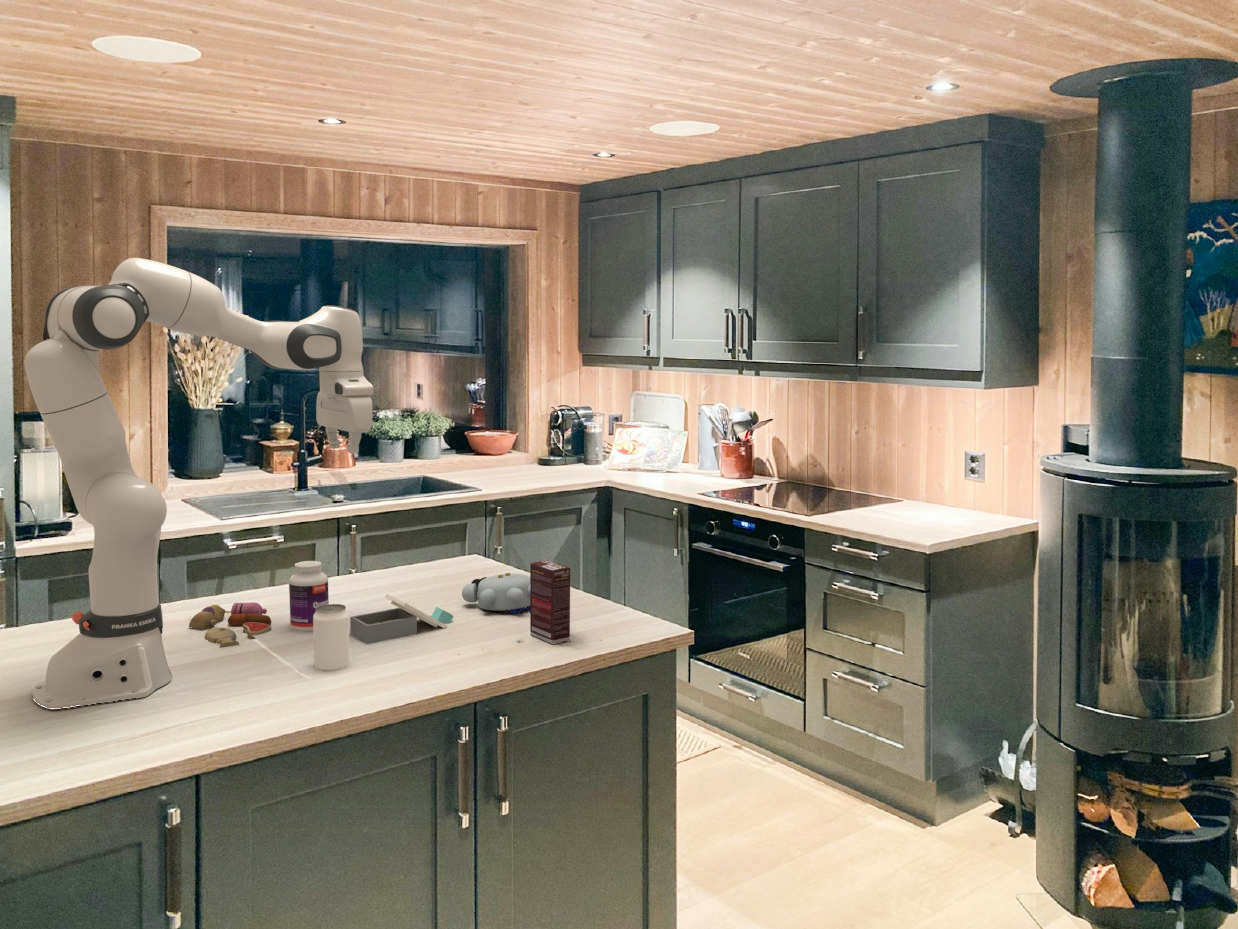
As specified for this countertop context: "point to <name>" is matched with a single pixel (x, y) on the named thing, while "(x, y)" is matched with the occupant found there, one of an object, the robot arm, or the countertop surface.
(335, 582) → the countertop surface
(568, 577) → the supplement box
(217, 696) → the countertop surface
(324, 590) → the pill bottle
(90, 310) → the robot arm
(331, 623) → the can
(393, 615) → the tub
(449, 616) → the lid
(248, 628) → the toy food set
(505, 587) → the figurine
